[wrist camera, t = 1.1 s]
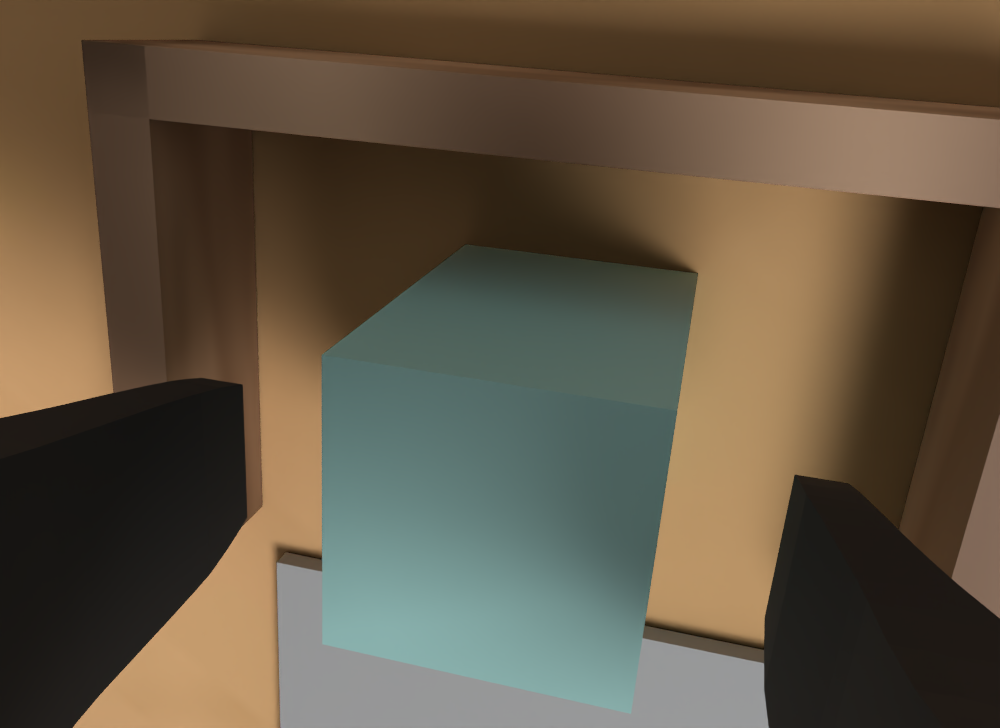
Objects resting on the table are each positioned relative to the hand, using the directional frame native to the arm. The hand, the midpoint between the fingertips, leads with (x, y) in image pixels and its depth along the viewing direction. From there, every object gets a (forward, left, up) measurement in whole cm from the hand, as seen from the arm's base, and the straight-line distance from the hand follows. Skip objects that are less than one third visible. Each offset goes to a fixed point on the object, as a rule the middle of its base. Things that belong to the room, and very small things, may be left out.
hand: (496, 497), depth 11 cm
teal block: (0, 0, -5) cm, 5 cm away
